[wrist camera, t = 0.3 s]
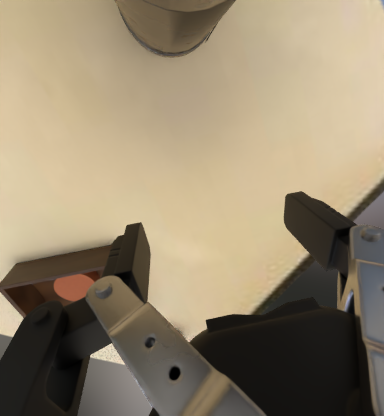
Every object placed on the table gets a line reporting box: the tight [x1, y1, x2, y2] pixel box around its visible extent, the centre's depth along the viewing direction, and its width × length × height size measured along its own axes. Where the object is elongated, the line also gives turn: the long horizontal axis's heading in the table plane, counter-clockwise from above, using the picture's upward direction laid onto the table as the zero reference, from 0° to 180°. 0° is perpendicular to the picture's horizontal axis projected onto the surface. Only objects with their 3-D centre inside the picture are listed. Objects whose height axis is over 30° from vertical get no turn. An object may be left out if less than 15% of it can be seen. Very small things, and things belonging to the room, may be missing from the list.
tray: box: [0, 245, 112, 318], centre depth 34 cm, size 17×15×4 cm
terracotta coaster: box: [54, 271, 100, 301], centre depth 33 cm, size 6×6×2 cm
